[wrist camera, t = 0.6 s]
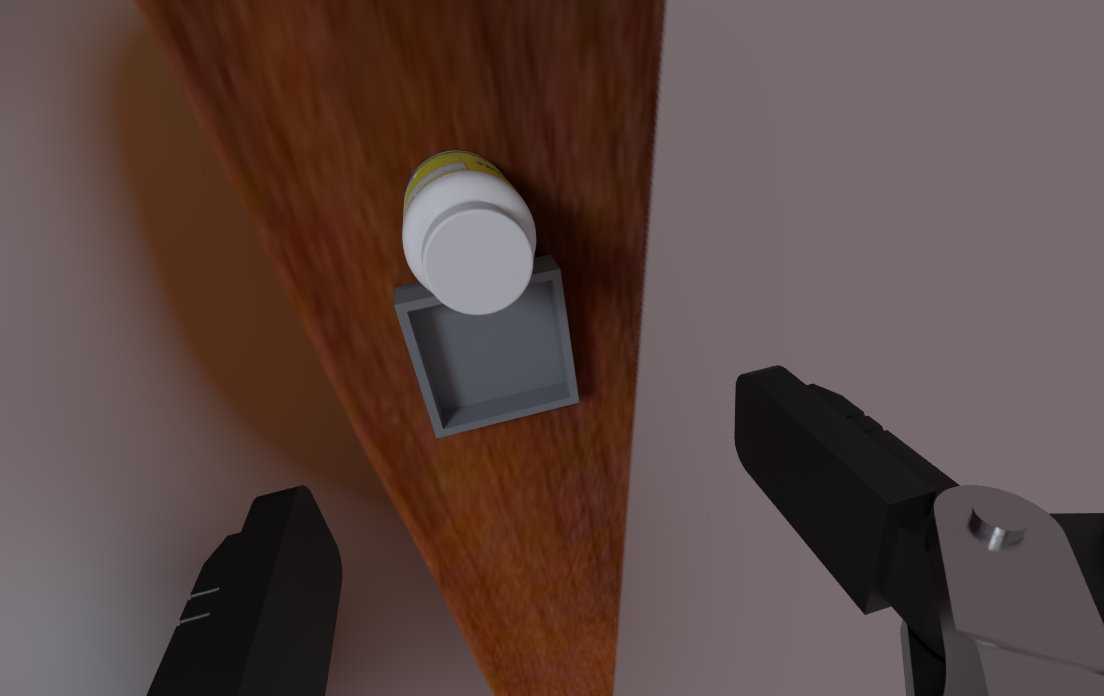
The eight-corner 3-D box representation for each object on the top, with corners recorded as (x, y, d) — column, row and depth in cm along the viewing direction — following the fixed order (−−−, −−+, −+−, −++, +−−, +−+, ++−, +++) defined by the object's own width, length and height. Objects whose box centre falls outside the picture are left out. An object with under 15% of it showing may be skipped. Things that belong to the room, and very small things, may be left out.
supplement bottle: (528, 225, 29) (575, 294, 21) (439, 271, 29) (449, 358, 21) (481, 127, 26) (512, 160, 18) (382, 179, 26) (367, 236, 18)
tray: (395, 287, 29) (394, 305, 27) (550, 254, 30) (560, 268, 28) (435, 414, 33) (436, 438, 31) (569, 381, 34) (579, 402, 32)
